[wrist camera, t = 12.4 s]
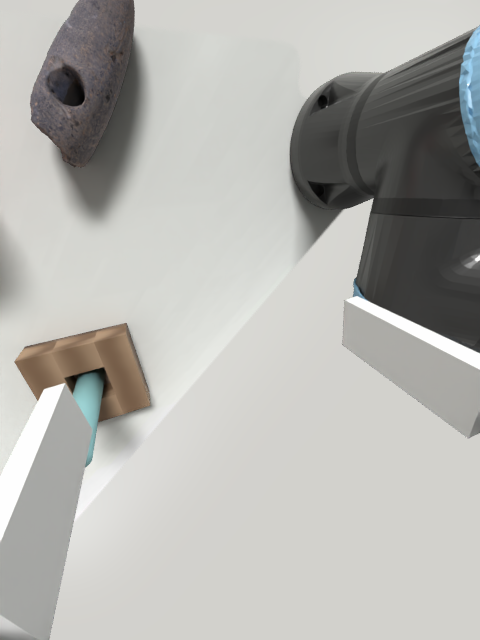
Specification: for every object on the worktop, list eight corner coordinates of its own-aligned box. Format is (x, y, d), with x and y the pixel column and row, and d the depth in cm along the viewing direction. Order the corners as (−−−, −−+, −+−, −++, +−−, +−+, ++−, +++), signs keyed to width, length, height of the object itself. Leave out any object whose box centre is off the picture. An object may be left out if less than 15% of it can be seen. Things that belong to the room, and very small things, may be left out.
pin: (101, 361, 37) (85, 441, 25) (108, 379, 38) (97, 463, 26) (75, 367, 36) (46, 454, 24) (84, 386, 37) (60, 476, 25)
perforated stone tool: (100, -22, 23) (90, -95, 17) (156, 34, 26) (163, -13, 20) (31, 139, 26) (2, 122, 20) (88, 175, 28) (77, 170, 23)
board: (126, 323, 36) (125, 334, 33) (148, 390, 42) (150, 405, 39) (24, 346, 33) (14, 361, 30) (63, 416, 38) (58, 435, 35)
